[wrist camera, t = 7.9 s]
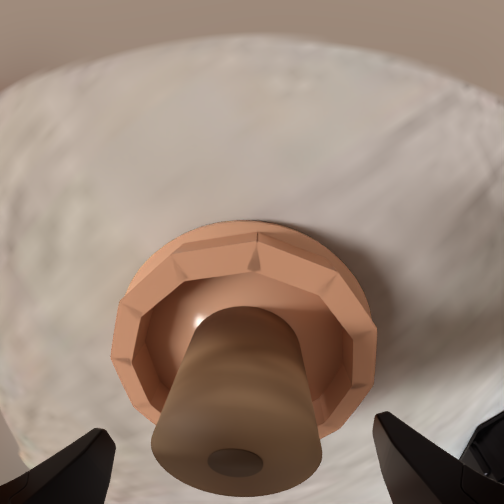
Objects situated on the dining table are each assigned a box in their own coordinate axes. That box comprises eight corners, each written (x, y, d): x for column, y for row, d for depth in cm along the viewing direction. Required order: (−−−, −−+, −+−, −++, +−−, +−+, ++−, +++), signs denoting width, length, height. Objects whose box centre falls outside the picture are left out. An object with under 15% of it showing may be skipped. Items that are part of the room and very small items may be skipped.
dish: (361, 201, 12) (386, 207, 9) (362, 411, 14) (374, 441, 12) (98, 244, 12) (67, 258, 10) (167, 429, 15) (156, 459, 13)
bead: (294, 298, 12) (321, 398, 6) (303, 388, 13) (321, 490, 7) (177, 312, 12) (123, 408, 6) (204, 398, 13) (181, 496, 7)
